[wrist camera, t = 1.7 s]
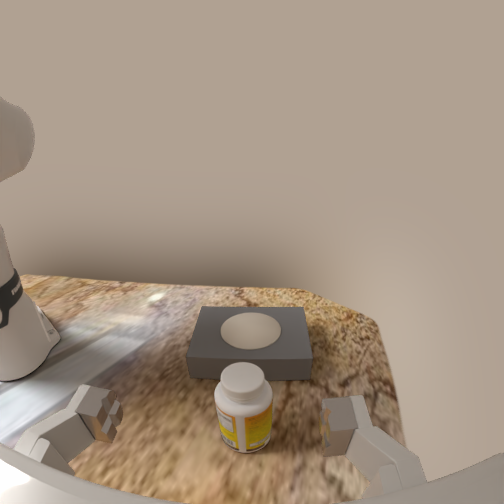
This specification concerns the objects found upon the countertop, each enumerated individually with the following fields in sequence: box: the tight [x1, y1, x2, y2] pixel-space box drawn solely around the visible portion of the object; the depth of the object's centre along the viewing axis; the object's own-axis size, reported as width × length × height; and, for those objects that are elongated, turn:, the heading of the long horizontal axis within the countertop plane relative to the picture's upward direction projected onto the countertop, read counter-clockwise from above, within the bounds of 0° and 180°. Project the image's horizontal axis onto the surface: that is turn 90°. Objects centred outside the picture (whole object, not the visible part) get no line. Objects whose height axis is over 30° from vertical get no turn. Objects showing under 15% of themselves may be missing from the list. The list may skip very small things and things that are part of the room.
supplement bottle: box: [214, 362, 273, 453], centre depth 28 cm, size 6×6×10 cm
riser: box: [186, 306, 313, 381], centre depth 43 cm, size 16×12×4 cm
